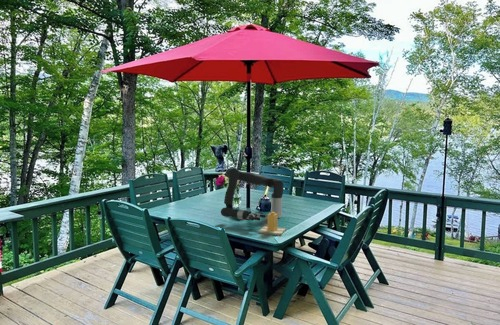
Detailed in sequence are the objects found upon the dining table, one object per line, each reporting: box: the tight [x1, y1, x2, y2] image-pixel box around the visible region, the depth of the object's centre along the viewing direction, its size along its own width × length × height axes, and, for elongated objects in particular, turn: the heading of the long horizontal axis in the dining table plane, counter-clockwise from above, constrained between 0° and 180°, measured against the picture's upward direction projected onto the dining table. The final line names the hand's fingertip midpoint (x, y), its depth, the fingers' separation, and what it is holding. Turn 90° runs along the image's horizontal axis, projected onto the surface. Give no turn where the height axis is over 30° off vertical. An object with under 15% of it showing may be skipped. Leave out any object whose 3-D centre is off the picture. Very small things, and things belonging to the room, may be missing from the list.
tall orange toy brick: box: [266, 211, 279, 231], centre depth 247 cm, size 6×6×13 cm
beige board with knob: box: [258, 225, 287, 237], centre depth 248 cm, size 14×17×6 cm
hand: (262, 217), depth 251 cm, fingers open, 8 cm apart
